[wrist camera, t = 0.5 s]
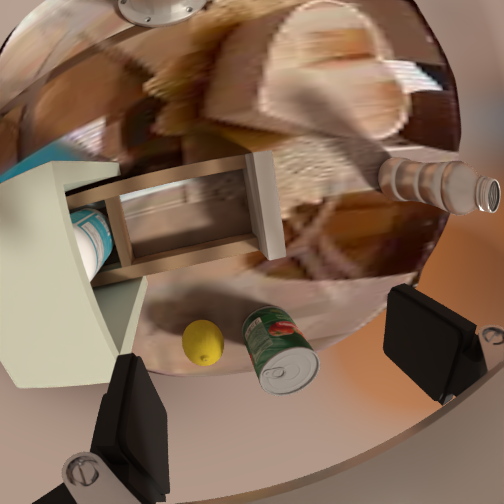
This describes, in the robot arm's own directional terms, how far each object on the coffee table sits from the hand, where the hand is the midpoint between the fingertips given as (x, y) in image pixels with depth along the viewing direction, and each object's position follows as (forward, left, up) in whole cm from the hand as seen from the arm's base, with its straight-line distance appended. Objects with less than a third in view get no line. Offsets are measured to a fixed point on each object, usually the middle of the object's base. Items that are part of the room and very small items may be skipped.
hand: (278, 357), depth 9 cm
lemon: (+10, -12, -29) cm, 33 cm away
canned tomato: (+18, -6, -29) cm, 34 cm away
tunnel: (-10, -12, -28) cm, 32 cm away
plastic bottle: (+15, +24, -28) cm, 40 cm away
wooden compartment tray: (-6, -7, -28) cm, 29 cm away
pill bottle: (-10, -12, -29) cm, 33 cm away
